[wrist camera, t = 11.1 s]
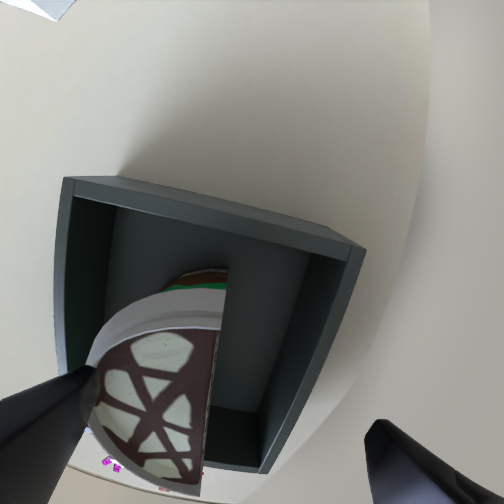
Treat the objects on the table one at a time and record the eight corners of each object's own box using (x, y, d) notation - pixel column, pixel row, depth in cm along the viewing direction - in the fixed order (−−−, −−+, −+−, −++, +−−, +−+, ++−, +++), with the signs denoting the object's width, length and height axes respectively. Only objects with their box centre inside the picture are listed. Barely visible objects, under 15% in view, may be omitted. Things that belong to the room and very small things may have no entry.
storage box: (328, 226, 19) (367, 249, 13) (262, 415, 23) (267, 474, 17) (115, 175, 18) (62, 176, 12) (98, 375, 22) (66, 424, 15)
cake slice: (138, 230, 18) (52, 278, 9) (232, 244, 19) (223, 313, 9) (136, 382, 21) (94, 476, 11) (211, 396, 22) (199, 501, 12)
